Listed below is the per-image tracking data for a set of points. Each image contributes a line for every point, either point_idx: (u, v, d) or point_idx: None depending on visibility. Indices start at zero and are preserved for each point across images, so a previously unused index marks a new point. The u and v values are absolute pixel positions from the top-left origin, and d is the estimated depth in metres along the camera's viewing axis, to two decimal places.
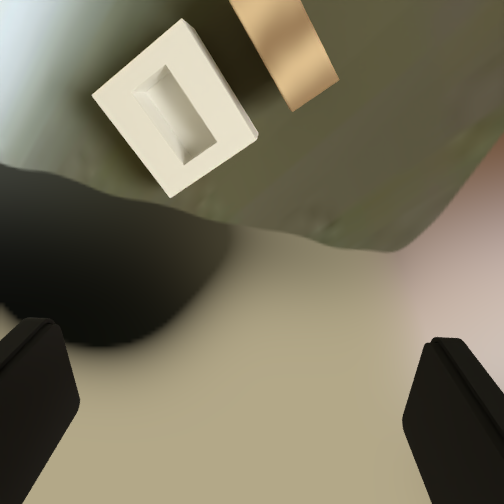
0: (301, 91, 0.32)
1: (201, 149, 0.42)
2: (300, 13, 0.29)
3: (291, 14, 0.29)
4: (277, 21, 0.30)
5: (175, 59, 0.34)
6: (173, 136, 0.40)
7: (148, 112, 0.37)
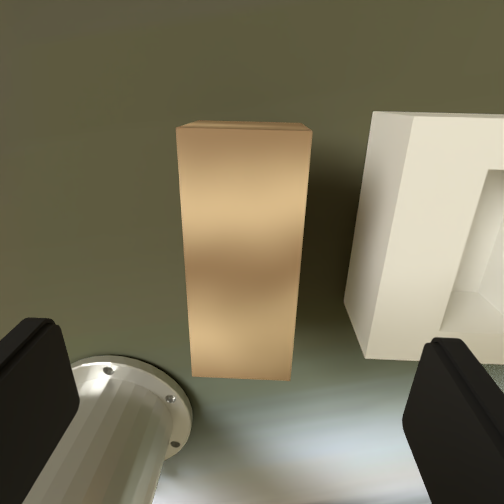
0: (266, 160, 0.13)
1: None
2: (196, 281, 0.15)
3: (211, 289, 0.15)
4: (240, 294, 0.15)
5: (419, 327, 0.19)
6: None
7: None
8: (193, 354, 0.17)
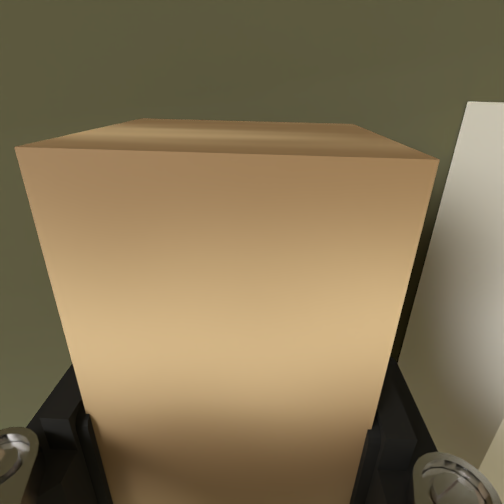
0: (290, 241, 0.04)
1: None
2: (126, 479, 0.07)
3: (159, 493, 0.07)
4: (224, 503, 0.07)
5: None
6: None
7: None
8: None
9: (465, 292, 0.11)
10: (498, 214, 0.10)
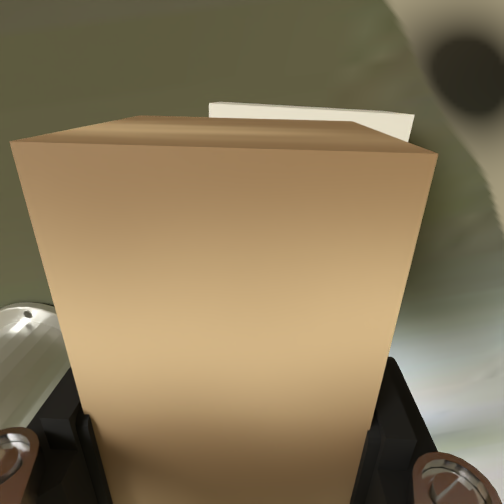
0: (288, 237, 0.04)
1: None
2: (123, 478, 0.07)
3: (157, 492, 0.07)
4: (222, 501, 0.07)
5: None
6: None
7: None
8: None
9: None
10: None
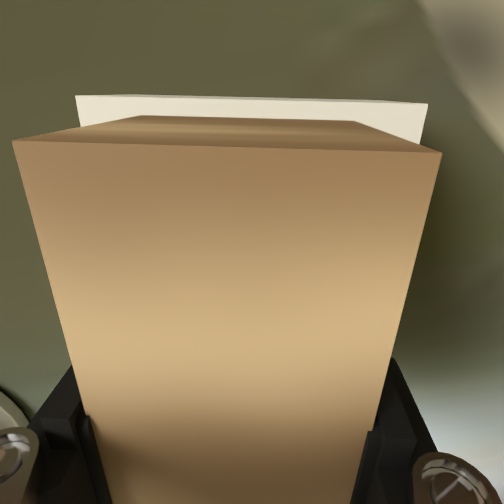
0: (290, 236, 0.04)
1: None
2: (125, 478, 0.07)
3: (159, 492, 0.07)
4: (224, 501, 0.07)
5: None
6: None
7: None
8: None
9: None
10: None
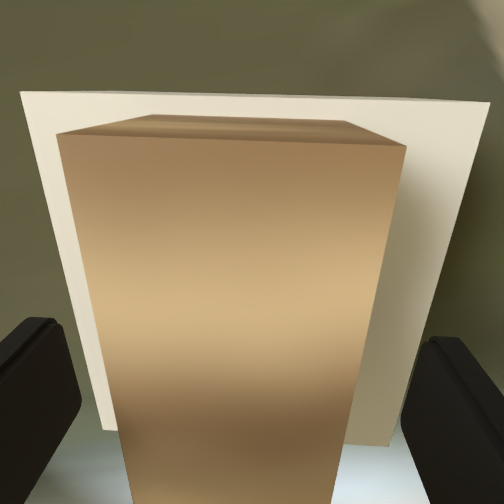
0: (284, 215, 0.05)
1: None
2: (139, 434, 0.08)
3: (168, 448, 0.08)
4: (226, 457, 0.08)
5: None
6: None
7: None
8: None
9: None
10: None
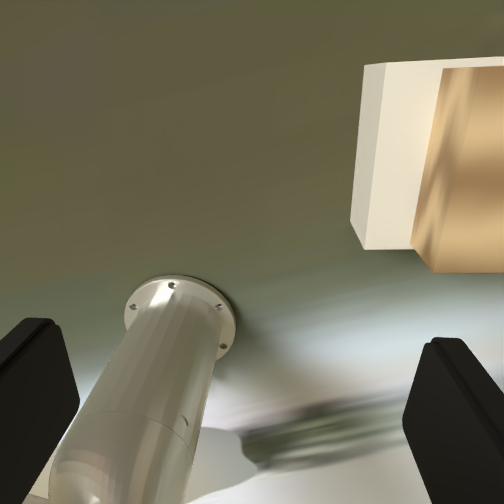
0: None
1: None
2: (460, 190, 0.20)
3: (469, 196, 0.20)
4: (492, 199, 0.20)
5: (402, 221, 0.26)
6: None
7: None
8: (439, 253, 0.22)
9: (365, 145, 0.26)
10: (370, 107, 0.25)
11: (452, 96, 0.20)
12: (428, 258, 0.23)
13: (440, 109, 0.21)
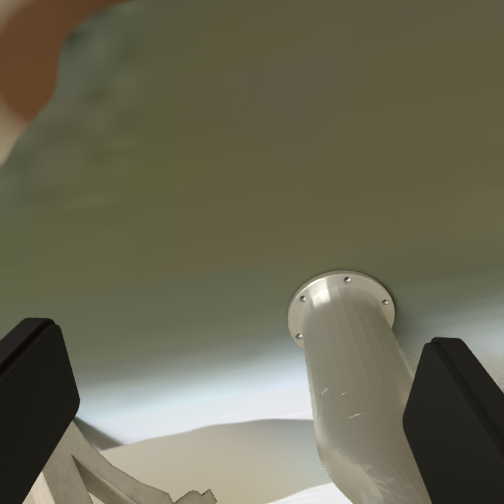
0: None
1: None
2: None
3: None
4: None
5: None
6: None
7: None
8: None
9: None
10: None
11: None
12: None
13: None
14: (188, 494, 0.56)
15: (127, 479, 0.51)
